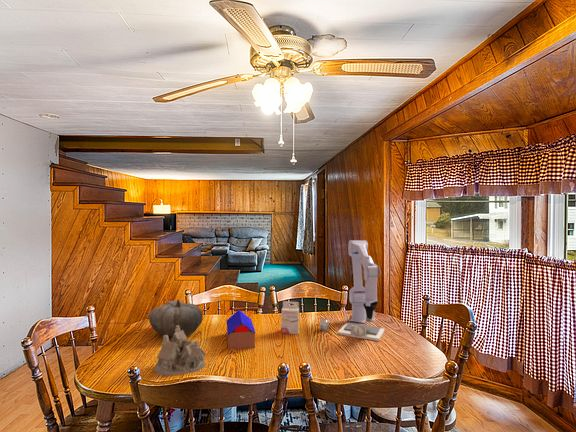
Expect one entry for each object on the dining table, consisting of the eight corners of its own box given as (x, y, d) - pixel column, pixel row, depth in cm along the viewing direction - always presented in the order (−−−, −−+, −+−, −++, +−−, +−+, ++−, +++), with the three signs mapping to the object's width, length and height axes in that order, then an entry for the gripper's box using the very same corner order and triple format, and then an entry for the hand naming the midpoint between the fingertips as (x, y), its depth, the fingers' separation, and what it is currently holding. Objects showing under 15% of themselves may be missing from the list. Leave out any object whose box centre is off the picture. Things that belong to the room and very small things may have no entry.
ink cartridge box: (280, 333, 171) (281, 303, 171) (281, 330, 176) (282, 301, 176) (298, 334, 170) (298, 304, 170) (298, 330, 175) (299, 301, 175)
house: (227, 350, 150) (228, 323, 150) (226, 334, 170) (226, 310, 170) (255, 348, 153) (255, 322, 153) (250, 332, 172) (251, 309, 172)
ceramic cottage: (148, 369, 131) (151, 330, 130) (183, 356, 144) (185, 320, 144) (175, 384, 122) (179, 342, 122) (210, 368, 136) (213, 330, 136)
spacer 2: (375, 320, 174) (375, 310, 174) (373, 322, 170) (373, 312, 170) (366, 318, 176) (366, 308, 176) (364, 321, 172) (364, 311, 172)
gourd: (143, 339, 153) (148, 299, 156) (149, 330, 177) (153, 295, 180) (201, 340, 160) (205, 302, 163) (199, 331, 184) (203, 297, 186)
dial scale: (345, 325, 184) (346, 315, 184) (384, 331, 176) (384, 320, 176) (337, 334, 171) (337, 323, 171) (379, 341, 162) (379, 330, 162)
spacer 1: (321, 327, 180) (321, 318, 180) (329, 329, 178) (329, 319, 178) (318, 330, 176) (318, 320, 176) (326, 331, 174) (327, 321, 174)
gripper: (366, 286, 181) (365, 312, 181) (359, 291, 168) (359, 320, 168) (379, 287, 178) (379, 314, 178) (374, 293, 165) (373, 322, 165)
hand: (370, 317), depth 173 cm, fingers closed on spacer 2, 4 cm apart
